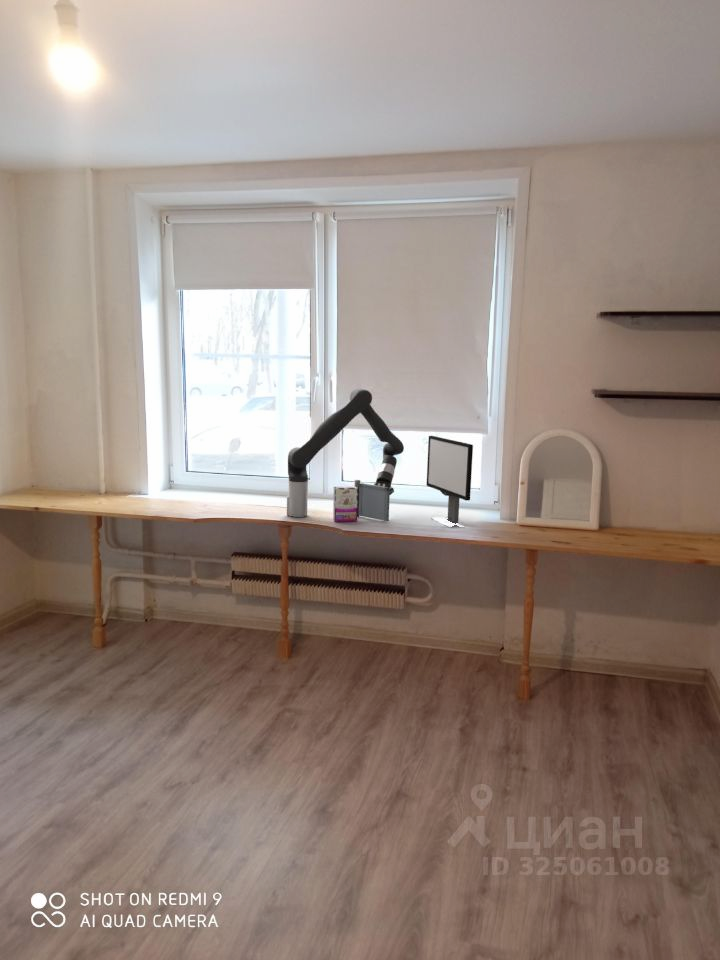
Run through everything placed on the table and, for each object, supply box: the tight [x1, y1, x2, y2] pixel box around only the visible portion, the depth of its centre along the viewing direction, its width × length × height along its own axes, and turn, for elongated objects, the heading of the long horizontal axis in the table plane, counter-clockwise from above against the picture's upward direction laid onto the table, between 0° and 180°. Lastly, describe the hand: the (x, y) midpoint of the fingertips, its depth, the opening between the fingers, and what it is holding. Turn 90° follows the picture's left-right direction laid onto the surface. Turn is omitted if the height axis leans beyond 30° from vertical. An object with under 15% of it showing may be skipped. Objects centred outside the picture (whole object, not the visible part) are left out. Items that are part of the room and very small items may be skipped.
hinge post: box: [353, 479, 361, 518], centre depth 341 cm, size 3×3×18 cm
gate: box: [359, 482, 391, 522], centre depth 334 cm, size 17×2×16 cm, turn 51°
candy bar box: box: [332, 486, 358, 523], centre depth 331 cm, size 11×5×16 cm, turn 101°
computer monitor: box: [426, 435, 474, 529], centre depth 331 cm, size 41×8×40 cm, turn 21°
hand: (377, 504), depth 335 cm, fingers closed
